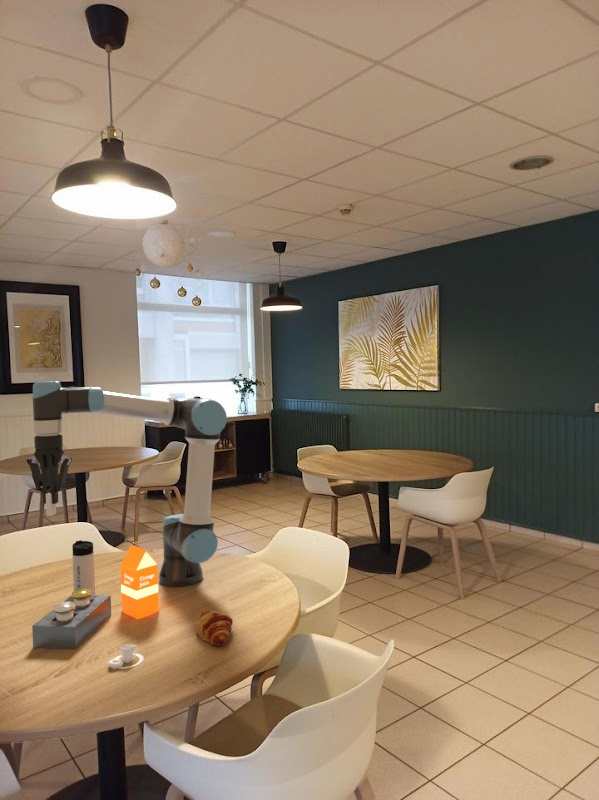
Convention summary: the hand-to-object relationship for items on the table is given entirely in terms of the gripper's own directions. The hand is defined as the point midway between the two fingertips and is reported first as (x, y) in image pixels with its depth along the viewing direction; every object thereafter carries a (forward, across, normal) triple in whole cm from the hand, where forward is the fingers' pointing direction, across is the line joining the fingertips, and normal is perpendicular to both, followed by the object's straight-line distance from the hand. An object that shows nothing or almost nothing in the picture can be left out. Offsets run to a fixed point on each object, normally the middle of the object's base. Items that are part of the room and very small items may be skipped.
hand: (51, 514), depth 167 cm
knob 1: (+31, -8, +9) cm, 34 cm away
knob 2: (+31, -8, -1) cm, 32 cm away
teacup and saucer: (+33, -27, +20) cm, 47 cm away
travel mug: (+33, -2, -14) cm, 36 cm away
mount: (+32, -8, +4) cm, 34 cm away
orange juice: (+33, -22, -10) cm, 41 cm away
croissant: (+33, -49, +3) cm, 59 cm away
